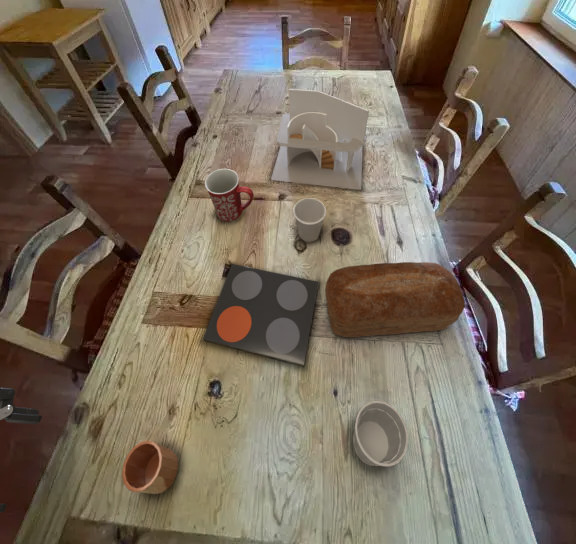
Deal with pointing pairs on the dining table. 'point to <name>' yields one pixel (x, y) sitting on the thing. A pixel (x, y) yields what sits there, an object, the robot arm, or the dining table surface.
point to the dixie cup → (309, 218)
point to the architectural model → (321, 141)
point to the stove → (264, 314)
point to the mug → (227, 194)
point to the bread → (392, 299)
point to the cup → (380, 435)
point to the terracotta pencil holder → (149, 468)
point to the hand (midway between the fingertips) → (23, 460)
